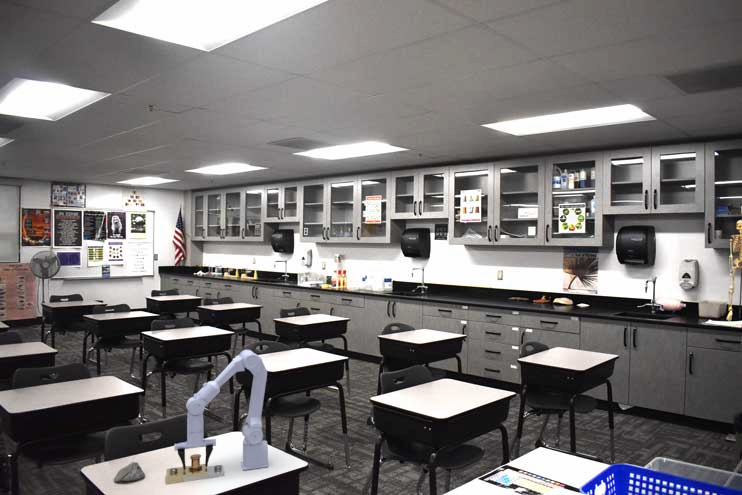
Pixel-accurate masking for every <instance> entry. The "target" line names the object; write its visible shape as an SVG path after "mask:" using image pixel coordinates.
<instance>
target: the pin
mask: <svg viewBox="0 0 742 495" xmlns="http://www.w3.org/2000/svg"><path fill="white" fill-rule="evenodd" d="M201 457H202V455H201V454H197V453H196V454H191V455H190V457H189V458H190V460H191V461H190V463H191V464H190V466H191V472H195V471H200V464H201Z"/></svg>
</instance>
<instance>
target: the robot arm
mask: <svg viewBox="0 0 742 495" xmlns="http://www.w3.org/2000/svg"><path fill="white" fill-rule="evenodd" d="M246 369H247V370H249V371H250V373H251V374H252V375H253V378H252V385H251V393H250V399H249V405H248V413H247V417H246V418H245V422H244V424H243V425H242V428H241V434H242V435H243V437H244V439H243V441H242V461H240V464H241V465H240V466H241V468H242V471H247V470H249V471H250V470H255V469H256V470H257V469H262V468H268V467H269V448H268V447H269V446H268V445H269V444H268V441H267V440H263V439H264V433H263V430H262V428H263V423H262V414H263V413H262V412H263V407H264V398H265V392H266V391H265V390H266V386H267V384H266V383H267V378H268V377H267V376H268V370H267V368H266V366H265V363H264V362H263V359H262V358H261V357H260V356H259V355H258V354H256V353H254V351H252V350H251V349H244V350H242V351H241V352H240V353H239V354H238V355H237V356H235V357H234V359H233V360H231V362H230V363H229V364H227V366H226V367H225V369H224V370H222V372H220V374H219V375H218V376H217V377H216V378H215V379H214V380H210V381H208V382H204V383H203V384H202V386H203V387H201V389H200V390H199V391H197V393H194V394H193V396H192V397H189V399H188V400H187V401H186V404H185V408H186V410H187V418H186V422H187V423H186V426H187V428H186V429H187V430H186V433H187V434H186V439H187V440H186V441H184V442H179V443H174V452H177V454H178V457H179V459H180V461H181V463H182V467H183V469H184V470H186V450H189V449H190V450H191V449H196V448H198V449H199V448H205V460H204V461H205V462H204V464H205V466H206V467H208V466H209V460H210V457H211V455H212V453H213V450H214V447H216V445H217V440H216V438H213V439H212V438H211V439H209V438H207V439H204V412H205V409H206V408H205V407H206V406H207V405H208V404H209V403H210V402H212V400H213V399H214V398H215V397H216V396H218V394H219V393H220V392H221V390H220V389H221V387H222V386H223V385H224V384H225V383H226V382H227V381H228V380H230V379H231V377H232V376H234V375H235V374H236V373H238V372H245V370H246Z"/></svg>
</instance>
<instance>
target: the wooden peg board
mask: <svg viewBox="0 0 742 495" xmlns="http://www.w3.org/2000/svg"><path fill="white" fill-rule="evenodd" d="M185 466H186V465H185ZM165 474H166V477H165V484H166V485H169V484H177V483H183V482H189V481H196V480H203V479H205V480H206V479H210V478H218V477H223V476H224V477H225V469H224V465H223V464H216V465H210V466H209V465H208V467H206V466H205V463H200V471H195V472H191V465H187V466H186V470H184V469H183V466H180V467H179V466H178V467H171V468H166V473H165Z"/></svg>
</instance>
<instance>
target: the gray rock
mask: <svg viewBox="0 0 742 495" xmlns="http://www.w3.org/2000/svg"><path fill="white" fill-rule="evenodd" d="M145 476H146V474H145V472H144V470H143V469H142V467H141V466H140V464H139V462H135V461H133V462H131V463H129V464H128V465H126V466H124V467H122V468H121V469H120V470H119V471H117V473H116V475H115V477H114V479H113V481H114V483H119V482H121V481H123V482H133V481H136V480H140V479H142V478H144V477H145Z"/></svg>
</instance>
